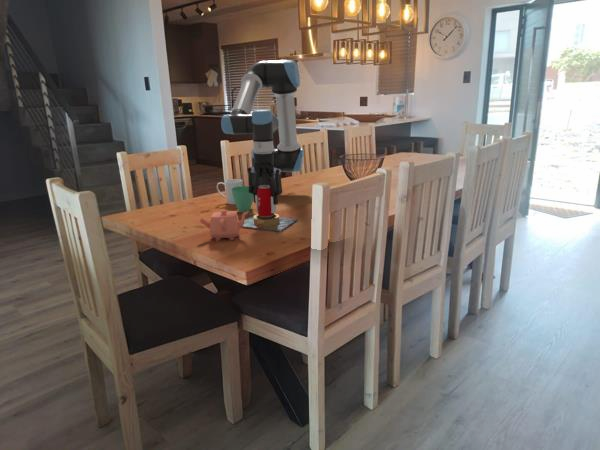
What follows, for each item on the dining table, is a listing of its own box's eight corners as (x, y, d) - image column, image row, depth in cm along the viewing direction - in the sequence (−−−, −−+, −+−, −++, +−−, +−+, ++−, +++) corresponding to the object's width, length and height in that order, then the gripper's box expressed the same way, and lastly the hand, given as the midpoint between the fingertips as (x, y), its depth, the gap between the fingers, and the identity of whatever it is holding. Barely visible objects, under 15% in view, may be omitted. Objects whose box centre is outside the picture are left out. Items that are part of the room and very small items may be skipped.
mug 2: (252, 214, 187) (250, 191, 184) (230, 213, 189) (228, 190, 186) (260, 205, 201) (259, 184, 198) (240, 204, 203) (238, 183, 200)
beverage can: (267, 213, 177) (265, 183, 173) (277, 215, 173) (276, 186, 169) (255, 216, 173) (253, 186, 169) (265, 219, 168) (263, 188, 165)
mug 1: (244, 200, 211) (243, 178, 208) (242, 204, 203) (241, 182, 200) (219, 200, 211) (217, 179, 208) (216, 205, 203) (214, 182, 200)
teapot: (217, 246, 150) (215, 217, 147) (199, 238, 158) (197, 211, 155) (251, 236, 159) (249, 209, 156) (232, 229, 167) (231, 203, 164)
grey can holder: (254, 215, 184) (254, 209, 184) (298, 220, 177) (297, 213, 176) (234, 226, 171) (233, 219, 170) (280, 232, 163) (280, 224, 162)
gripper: (236, 152, 166) (240, 211, 173) (281, 154, 158) (283, 216, 165) (246, 150, 172) (249, 207, 179) (290, 152, 165) (292, 211, 172)
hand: (266, 211), depth 172 cm, fingers closed on beverage can, 6 cm apart
